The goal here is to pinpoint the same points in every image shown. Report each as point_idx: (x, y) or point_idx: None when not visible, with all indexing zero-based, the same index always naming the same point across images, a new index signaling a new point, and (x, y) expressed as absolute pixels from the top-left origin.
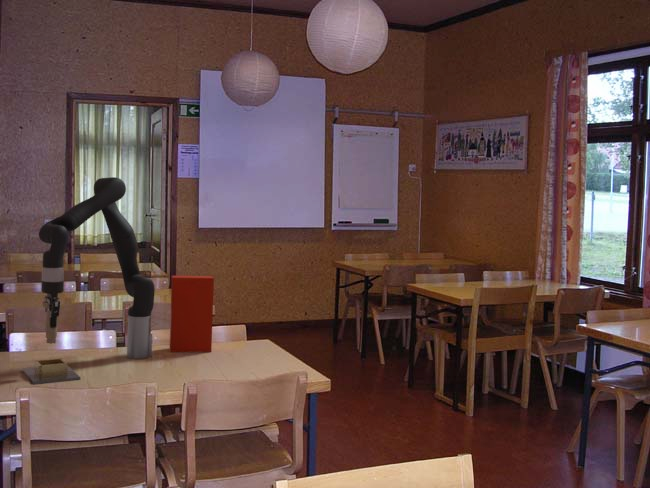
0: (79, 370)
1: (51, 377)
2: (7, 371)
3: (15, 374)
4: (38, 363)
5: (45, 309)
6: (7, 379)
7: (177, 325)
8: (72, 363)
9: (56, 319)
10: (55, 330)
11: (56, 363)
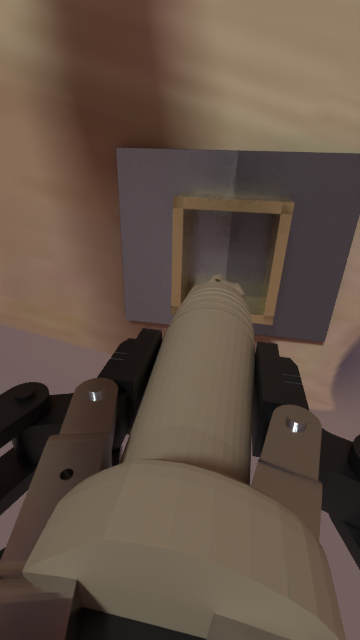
0: (209, 106)
1: (299, 271)
2: None
3: None
4: None
5: (16, 464)
6: None
7: None
8: (72, 102)
9: (283, 389)
10: (251, 325)
11: (186, 222)
